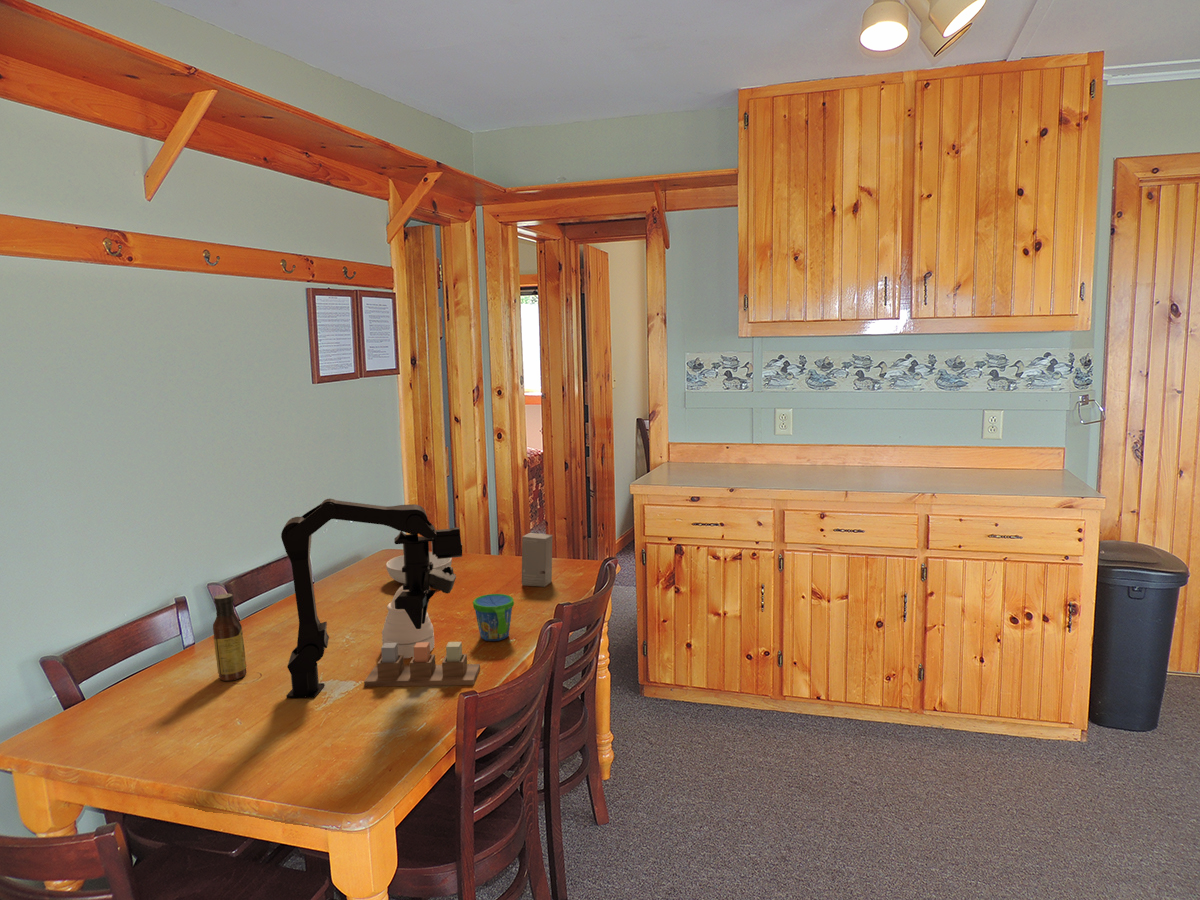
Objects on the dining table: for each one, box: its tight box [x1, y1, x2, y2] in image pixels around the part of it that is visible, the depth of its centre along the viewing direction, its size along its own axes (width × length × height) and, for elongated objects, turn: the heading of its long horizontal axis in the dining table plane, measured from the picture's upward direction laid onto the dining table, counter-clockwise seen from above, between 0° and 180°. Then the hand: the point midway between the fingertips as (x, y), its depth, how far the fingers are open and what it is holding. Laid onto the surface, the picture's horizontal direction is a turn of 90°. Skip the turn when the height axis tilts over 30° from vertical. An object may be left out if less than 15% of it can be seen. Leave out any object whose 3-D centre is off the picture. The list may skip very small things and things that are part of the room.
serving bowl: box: [385, 551, 453, 585], centre depth 264 cm, size 21×21×7 cm
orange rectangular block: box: [414, 642, 431, 662], centre depth 188 cm, size 3×3×5 cm
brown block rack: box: [363, 653, 481, 687], centre depth 189 cm, size 9×25×5 cm, turn 89°
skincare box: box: [521, 532, 553, 588], centre depth 258 cm, size 8×7×16 cm
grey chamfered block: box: [380, 643, 399, 663], centre depth 189 cm, size 3×3×5 cm
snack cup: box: [472, 593, 515, 642], centre depth 213 cm, size 16×10×10 cm
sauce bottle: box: [212, 593, 247, 682], centre depth 191 cm, size 7×6×20 cm
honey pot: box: [381, 585, 435, 659], centre depth 206 cm, size 13×13×18 cm
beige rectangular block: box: [445, 641, 463, 662], centre depth 188 cm, size 3×3×5 cm
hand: (420, 626), depth 187 cm, fingers open, 3 cm apart
